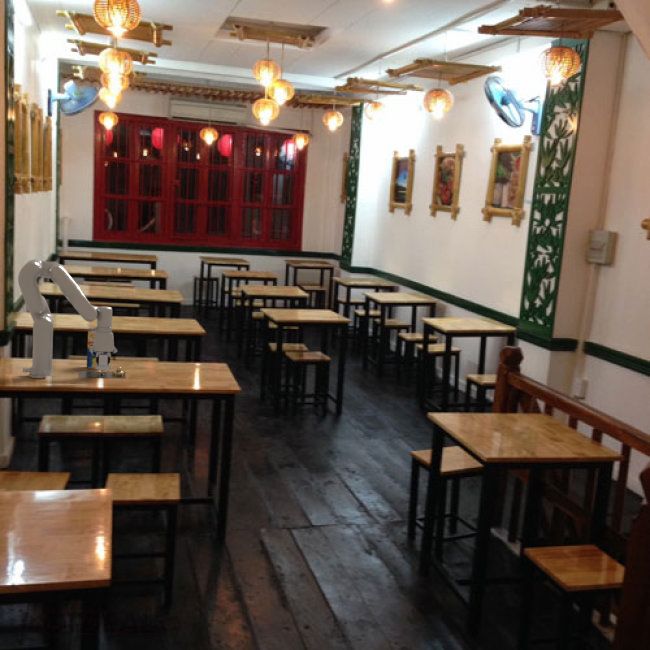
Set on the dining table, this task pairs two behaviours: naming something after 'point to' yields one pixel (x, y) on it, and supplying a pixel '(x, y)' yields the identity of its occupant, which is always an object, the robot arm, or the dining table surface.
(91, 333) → the beverage box
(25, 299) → the robot arm
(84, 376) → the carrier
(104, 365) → the square hollow tube
